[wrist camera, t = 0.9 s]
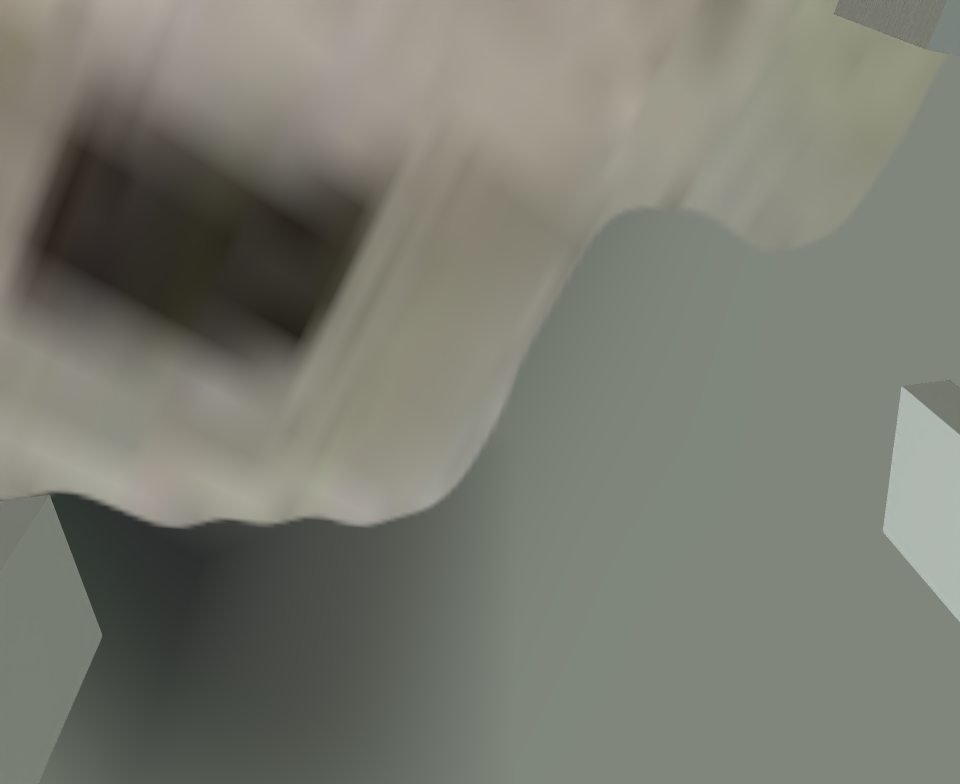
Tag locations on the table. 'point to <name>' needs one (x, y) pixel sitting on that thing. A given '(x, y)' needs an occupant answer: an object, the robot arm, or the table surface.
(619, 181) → the table surface
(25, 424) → the table surface
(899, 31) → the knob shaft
